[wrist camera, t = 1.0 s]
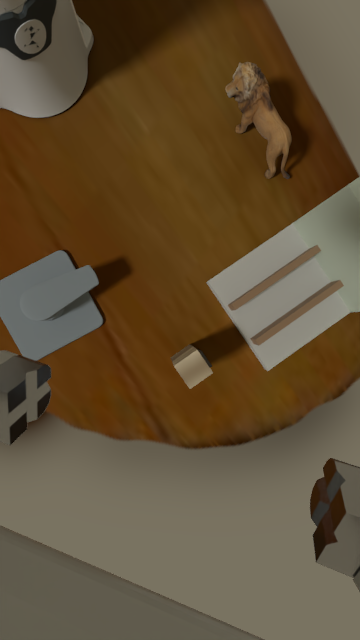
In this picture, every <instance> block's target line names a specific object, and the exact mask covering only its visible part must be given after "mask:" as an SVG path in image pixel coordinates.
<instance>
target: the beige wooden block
mask: <svg viewBox="0 0 360 640" xmlns="http://www.w3.org/2000/svg"><path fill="white" fill-rule="evenodd" d="M171 360H172V362H173V365H174V367H175V368H176V370H177V371H178V373H179V374H180V376H181V377H182V378H183V380H184V381H185V383H186V384H187V386H188V387H189V389H191V388H192V387H194V386H195V385H197V384H198V383H199V382H201V381H202V380H204V379H205V378H206V377H208V376H209V375H211V374H212V373H213V372H212V371H211V369H210V367H212V365H211V364H210V362H209V361H208V359H207V358H206V356H205V355H204V354H203V352H202V351H201V350H199V349H198V350H197V349H196V348H194V347H193V346H192V345H188V346H187V347H185V348H184V349H182V350H181V351H179V352H178V353H177V354H175V355H174V356H172V357H171Z"/></svg>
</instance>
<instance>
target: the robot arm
mask: <svg viewBox="0 0 360 640" xmlns="http://www.w3.org/2000/svg"><path fill="white" fill-rule="evenodd" d="M93 41H94V37H93V34H92V31H91V29H90V28H89V27H88V26H87V25H86V24H85V23H84V22H83V21H82V20H81V18H80V17H79V16H78V15H77V14H76V11H75V8H74V5H73V2H72V0H0V108H5V109H8V110H11V111H13V112H15V113H18V114H20V115H23V116H28V117H35V118H42V117H49V116H53V115H56V114H59V113H61V112H63V111H65V110H66V109H68V108H69V107H70V106H71V105H73V104H74V103H75V102H76V100H77V99H78V98H79V96H80V95H81V93H82V91H83V89H84V87H85V84H86V80H87V74H88V55H89V53H90V50H91V48H92V45H93ZM50 378H51V368H50V367H49V366H48V365H46V364H43V363H41V362H38V361H35V360H32V359H29V358H27V357H24V356H21V355H17V354H15V353H12V352H9V351H6V350H4V351H0V442H2V443H5V444H7V445H11V444H12V443H13V442H14V441H15V440H16V439H17V438H18V437H20V436H21V434H23V433H24V432H25V431H26V430H27V422H30V421H33V420H36V419H38V418H39V417H40V416H41V415H42V414H43V413H44V411H45V409H46V408H47V406H48V404H49V401H50V397H51V389H50V387H49V385H48V383H47V381H48V380H49V379H50ZM323 471H324V477H323V478H321V479H318V480H317V481H316V483H315V485H314V487H313V490H312V494H311V499H310V514H311V519H312V520H313V522H314V523H315V525H316V526H317V528H316V530H315V532H314V534H313V541H314V549H315V558H316V563H319V564H321V565H324V566H326V567H328V568H331V569H333V570H335V571H338V572H340V573H343V574H345V575H348V576H350V577H352V578H354V579H353V581H354V583H355V584H356V586H357V588H358V589H359V591H360V467H357V466H354V465H351V464H348V463H345V462H342V461H339V460H335V459H333V458H330V459H329V460H328V461H327V462H326V464H325V466H324V467H323ZM0 640H264V639H262V638H259V637H257V636H255V635H252V634H250V633H248V632H246V631H243V630H241V629H239V628H236V627H234V626H232V625H230V624H227V623H225V622H223V621H220V620H218V619H216V618H213V617H211V616H209V615H206V614H204V613H202V612H199V611H197V610H195V609H193V608H190V607H188V606H186V605H183V604H181V603H178V602H176V601H174V600H172V599H169V598H167V597H165V596H162V595H160V594H158V593H155V592H153V591H151V590H148V589H146V588H144V587H142V586H139V585H137V584H134V583H132V582H130V581H128V580H125V579H123V578H121V577H118V576H116V575H114V574H111V573H109V572H107V571H105V570H102V569H100V568H98V567H95V566H92V565H91V564H88V563H86V562H83V561H81V560H79V559H77V558H74V557H72V556H70V555H67V554H65V553H63V552H60V551H58V550H56V549H53V548H51V547H49V546H47V545H44V544H42V543H40V542H37V541H35V540H33V539H30V538H28V537H26V536H23V535H21V534H19V533H16V532H14V531H12V530H9V529H7V528H5V527H3V526H0Z"/></svg>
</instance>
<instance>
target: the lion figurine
mask: <svg viewBox="0 0 360 640" xmlns="http://www.w3.org/2000/svg"><path fill="white" fill-rule="evenodd" d="M226 92H227V94H228V97H229V98H231V97H234V98H235V100H236V101H238V106H239V109H240V110H241V112H242V113H243V116H242V121H241V124H239V125H237V127H236V132H237V133H243V132H245V131H246V129H247V126H248V125H249V124H251V123H252V122H253V123H254V125H255V127H256V128H257V130H258V131H259V133H260V134H261V135H262V136H263V137H264V138H265V139H267V140H268V146H267V152H266V155H267V162H268V166H269V170H266V172H265V177H266V178H272V177H273V176H274V175H275V172H276V168H275V162H276V158H277V157H278V156H280V155H281V153H283V154H284V155H283V159H282V163H281V172H282V174H283V176H284V178H286V179H289V178H290V176H289V174H288V173H287V172H286V171H285V170H284V167H285V163H286V160H287V157H288V152H289V147H290V145H291V142H292V138H291V133H290V130H289V128H288V126H287V125H286V124H285V123H284V122H283V121H282V119H281V117H280V116H279V114H278V112H277V110H276V108H275V107H274V105H273V103H272V101H271V98H270V87H269V85H268V82H267V80H266V78H265V76H264V74H263V73H262V72H261V69H260V68H258V67H257V65H256V64H254V63H250V62H246V63H243V64H242V63H239V66H238V68H237V69H236V71H235V73H234V75H233V81H232V82H231V83H230V84H228V85H227V86H226Z"/></svg>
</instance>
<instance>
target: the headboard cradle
mask: <svg viewBox="0 0 360 640" xmlns="http://www.w3.org/2000/svg"><path fill="white" fill-rule="evenodd" d="M206 283H207V284H208V286H209V287H210V289H211V290H212V292H213V293H214V295H215V296H216V298H217V299H218V301H219V302H220V304H221V305H222V307H223V308H224V310H225V311H226V312H227V314H228V315H229V317H230V318H231V320H232V321H233V323H234V324H235V326H236V327H237V329H238V330H239V332H240V333H241V335H242V336H243V338H244V339H245V341H246V342H247V344H248V345H249V347H250V348H251V350H252V351H253V352H254V354H255V355H256V357H257V358H258V360H259V361H260V363H261V364H262V366H263V367H264V369H265V370H267V371H269V370H270V369H271V368H273V367H274V366H276V365H277V364H278V363H280V362H281V361H283V360H284V359H285V358H287V357H288V356H290V355H291V354H292V353H294V352H295V351H297V350H298V349H299V348H301V347H302V346H304V345H305V344H306V343H308V342H309V341H311V340H312V339H313V338H315V337H316V336H318V335H319V334H320V333H322V332H323V331H325V330H326V329H327V328H329V327H330V326H332V325H333V324H334V323H336V322H337V321H339V320H340V319H341V318H343V317H344V316H346V315H347V314H348V313H350V312H360V177H359V178H357V179H356V180H354V181H353V182H351V183H350V184H349V185H347V186H346V187H344V188H343V189H341V190H340V191H338V192H337V193H336V194H334V195H333V196H331V197H330V198H328V199H327V200H325V201H324V202H323V203H321V204H320V205H318V206H317V207H315V208H314V209H313V210H311V211H310V212H308V213H307V214H305V215H304V216H302V217H301V218H300V219H298V220H297V221H295V222H294V223H292V224H291V225H289V226H288V227H287V228H285V229H284V230H282V231H281V232H279V233H278V234H276V235H275V236H273V237H272V238H270V239H269V240H267V241H266V242H265V243H263V244H262V245H260V246H259V247H257V248H256V249H254V250H253V251H251V252H250V253H248V254H247V255H246V256H244V257H243V258H241V259H240V260H238V261H237V262H235V263H234V264H232V265H231V266H229V267H228V268H227V269H225V270H224V271H222V272H221V273H219V274H218V275H216V276H215V277H213V278H212V279H210V280H209V281H208V282H206Z"/></svg>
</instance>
